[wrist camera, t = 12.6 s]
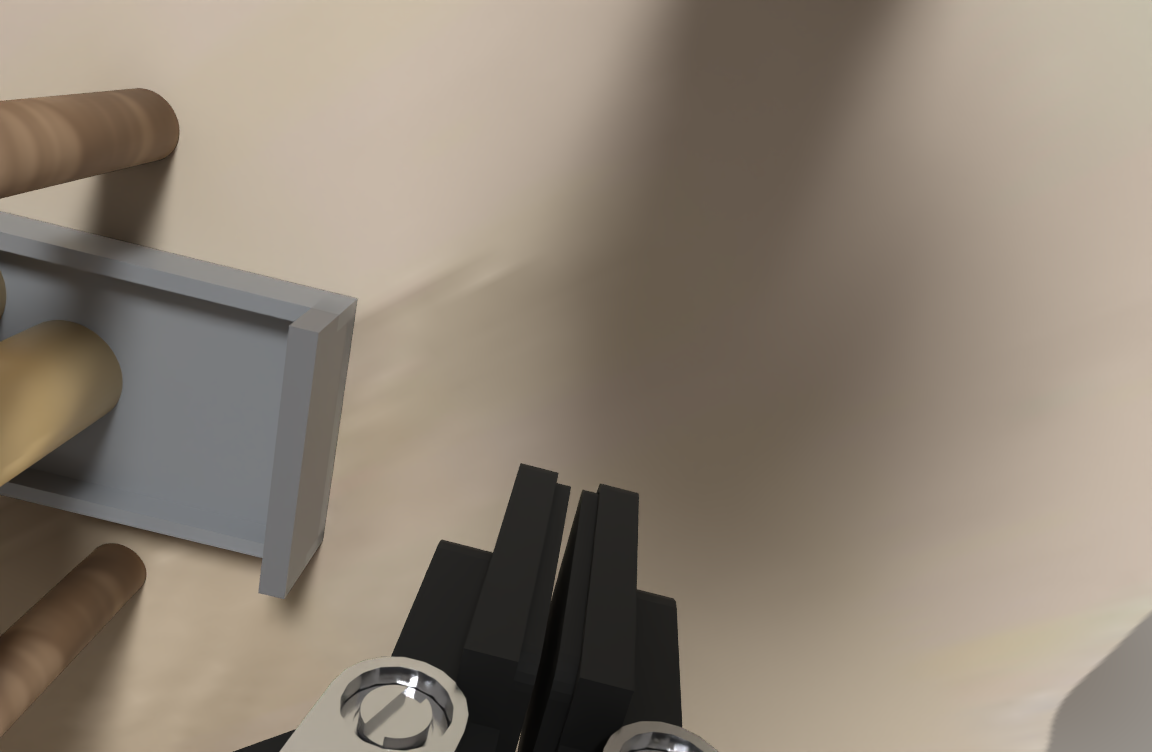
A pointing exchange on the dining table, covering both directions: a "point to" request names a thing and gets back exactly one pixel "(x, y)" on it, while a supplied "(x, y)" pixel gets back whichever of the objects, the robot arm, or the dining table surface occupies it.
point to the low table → (30, 162)
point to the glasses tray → (170, 393)
